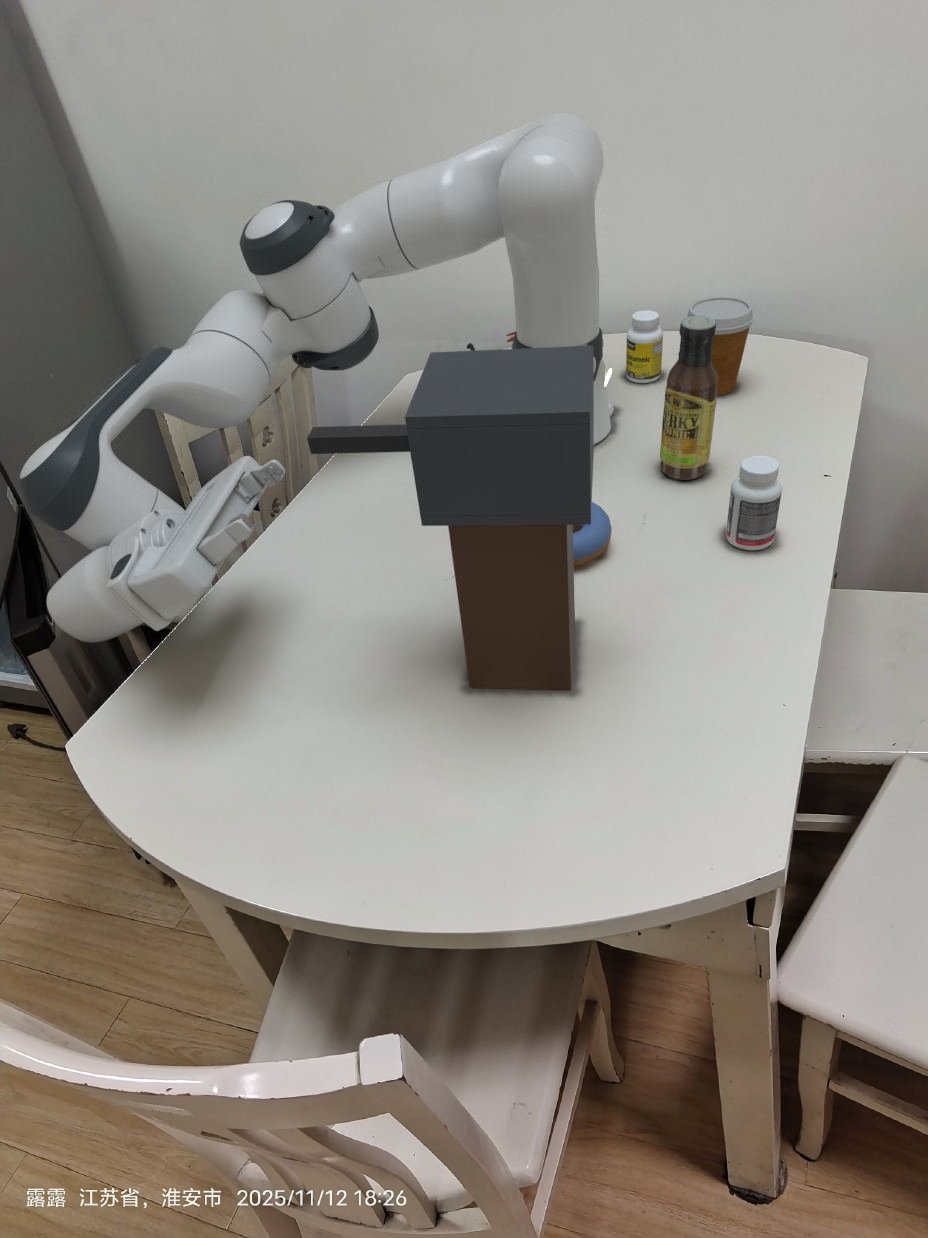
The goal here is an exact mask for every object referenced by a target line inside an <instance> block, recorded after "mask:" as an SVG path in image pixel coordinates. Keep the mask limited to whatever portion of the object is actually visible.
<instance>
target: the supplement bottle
mask: <svg viewBox="0 0 928 1238" xmlns="http://www.w3.org/2000/svg"><path fill="white" fill-rule="evenodd" d="M659 324H660V314H659V312H657V311H656V310H649V309H648V310H645V309H643V310H638V311H636V312H634V313H632V315H631V328H629V329H628V330H627V333H626V351H625V353H626V354H625V355H626V356H625V376H626V378H627V380H628V381H631V382H633V383H637V384H649V383H653V382H655V381H657V380H658V379H659V378H660V377H661V375H662V363H663V344H664V343H663V341H664V332H663V329H662V328H661V327H660V326H659Z"/></svg>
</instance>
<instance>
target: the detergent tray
mask: <svg viewBox="0 0 928 1238" xmlns="http://www.w3.org/2000/svg"><path fill="white" fill-rule="evenodd" d="M306 440H307V443H308V447H309V452H310V455H325V454H326V455H328V454H329V455H330V454H331V455H333V454H371V453H372V454H375V453H379V454H380V453H410V447H409V441H408V434H407V428H406V423H405V424H377V425H376V424H375V425H343V426H341V425H340V426H338V425H337V426H336V425H335V426H313V427H312V428H311V429H310V431H309V434H308V435H307V437H306Z"/></svg>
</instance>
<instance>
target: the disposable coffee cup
mask: <svg viewBox="0 0 928 1238" xmlns="http://www.w3.org/2000/svg"><path fill="white" fill-rule="evenodd" d="M691 316H706V317H710V318H712V319H714V320H715V321H716V331H715V335H714V337H713V343H712V357H711V362H712V364H713V365H714V366H715V368H716V371H717V373H718V386H717V397H718V396H722V395H724V396H725V395H728V394H730V393H732V392H733V391H734V390H735V388H736V385H737V382H738V381H737V380H738V376H739V372H740V368H741V364H742V361H743V355H744V352H745V347H746V344H747V339H748V335H749V331H750V327H751V326H752V324H753V322H754V321H755V313H754V312H753V306H752V304H751V303H750V302H749V301H747V300H745V299H741V298H737V297H731V296H712V297H707V298H703V299H699V300H696V301H695V302H693V303H692V304H691V305H690V306H689V309H688V312H686V314H685V318H687V317H691ZM685 318H684V319H685Z"/></svg>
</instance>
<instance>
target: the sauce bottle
mask: <svg viewBox="0 0 928 1238" xmlns="http://www.w3.org/2000/svg"><path fill="white" fill-rule="evenodd" d="M715 331H716V321H715V320H714V319H712V318H710V317H706V316H691V317H687V318H683V319H682V320H681V322H680V325H679V335H680V342H679V351H678V359H677V361H676V362H675V363H674V364H673V366H672V367H671V368H670V370H669V372H668V376H667V380H666V386H665V390H664V403H663V413H662V421H661V422H662V423H661V436H660V449H659V456H660V457H659V458H660V470H661V471H662V472H663V474H665V475H666V476H668V477H669V478H673V479H677V480H682V481H691V480H694V479H698V478H701V477H702V476H704V475H705V473H706V472H707V470H708V462H709V460H710V456H711V448H712V440H713V439H712V438H713V431H714V424H715V415H716V409H717V401H718V399H717V398H718V396H717V386H718V373H717V371H716V368H715V366H714V365H713V364H712V362H711V357H712V343H713V337H714V335H715Z"/></svg>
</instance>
